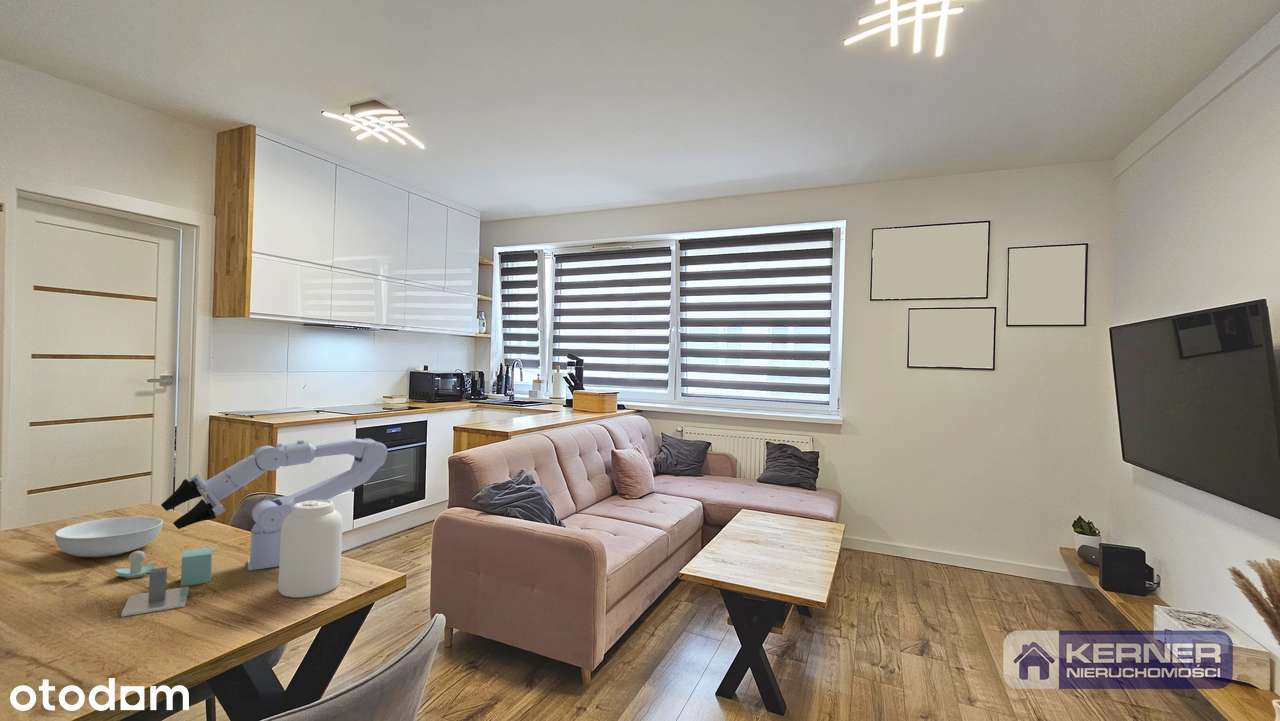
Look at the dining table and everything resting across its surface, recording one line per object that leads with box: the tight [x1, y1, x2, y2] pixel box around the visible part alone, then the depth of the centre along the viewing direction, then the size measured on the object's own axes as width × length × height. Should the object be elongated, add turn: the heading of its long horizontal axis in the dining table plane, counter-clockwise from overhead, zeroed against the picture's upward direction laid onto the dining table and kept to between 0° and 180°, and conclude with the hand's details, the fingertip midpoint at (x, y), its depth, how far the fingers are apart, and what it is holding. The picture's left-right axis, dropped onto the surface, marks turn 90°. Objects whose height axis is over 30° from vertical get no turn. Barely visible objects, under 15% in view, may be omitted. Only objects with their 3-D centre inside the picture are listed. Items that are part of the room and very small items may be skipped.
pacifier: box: [115, 550, 158, 579], centre depth 135 cm, size 7×6×6 cm
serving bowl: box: [54, 516, 164, 558], centre depth 150 cm, size 21×21×7 cm
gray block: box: [120, 566, 190, 618], centre depth 121 cm, size 10×10×7 cm
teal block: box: [180, 547, 214, 587], centre depth 134 cm, size 5×5×7 cm
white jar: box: [277, 499, 344, 598], centre depth 132 cm, size 12×12×20 cm
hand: (169, 516), depth 133 cm, fingers open, 7 cm apart
